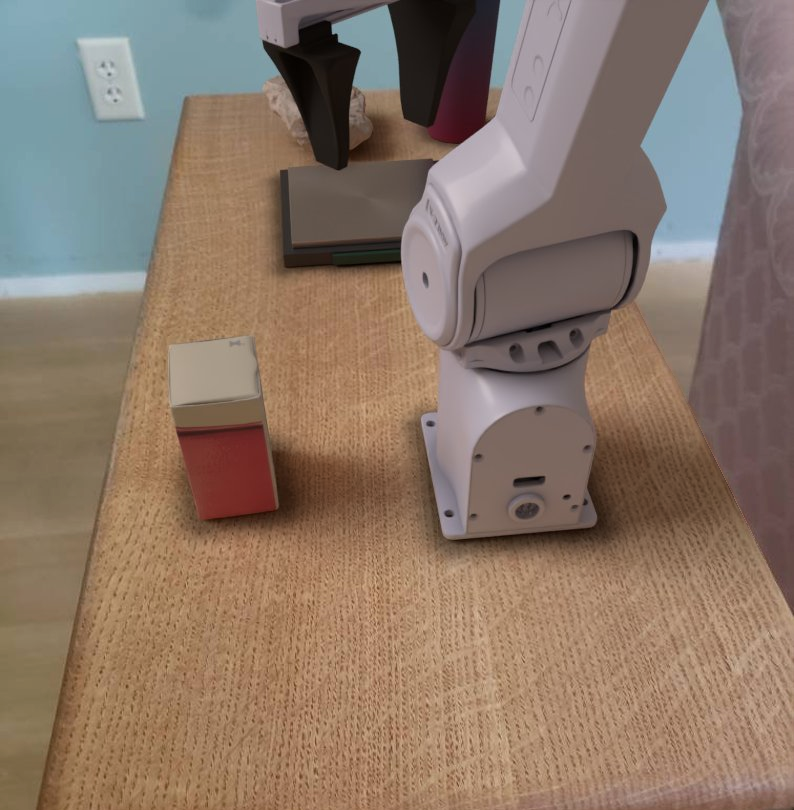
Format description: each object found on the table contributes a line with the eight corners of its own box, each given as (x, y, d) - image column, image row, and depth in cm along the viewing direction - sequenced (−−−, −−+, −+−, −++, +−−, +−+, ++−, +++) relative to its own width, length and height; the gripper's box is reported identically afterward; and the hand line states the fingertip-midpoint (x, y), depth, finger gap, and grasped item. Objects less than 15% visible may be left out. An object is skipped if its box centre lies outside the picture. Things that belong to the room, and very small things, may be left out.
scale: (465, 258, 61) (466, 239, 60) (284, 270, 60) (282, 251, 59) (439, 171, 70) (440, 153, 69) (280, 181, 69) (278, 163, 68)
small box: (195, 458, 48) (165, 341, 42) (272, 448, 48) (253, 330, 42) (198, 524, 44) (166, 406, 39) (281, 512, 45) (261, 395, 39)
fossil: (349, 72, 77) (386, 62, 68) (355, 151, 79) (392, 151, 71) (253, 77, 74) (279, 67, 66) (263, 159, 77) (289, 159, 68)
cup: (465, 155, 72) (476, -54, 61) (401, 134, 75) (400, -69, 64) (509, 126, 76) (526, -76, 65) (446, 108, 79) (452, -89, 67)
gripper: (408, -171, 47) (408, 88, 57) (199, -124, 40) (241, 162, 50) (510, -154, 44) (491, 118, 54) (301, -99, 37) (324, 202, 47)
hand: (376, 142), depth 52 cm, fingers open, 7 cm apart
